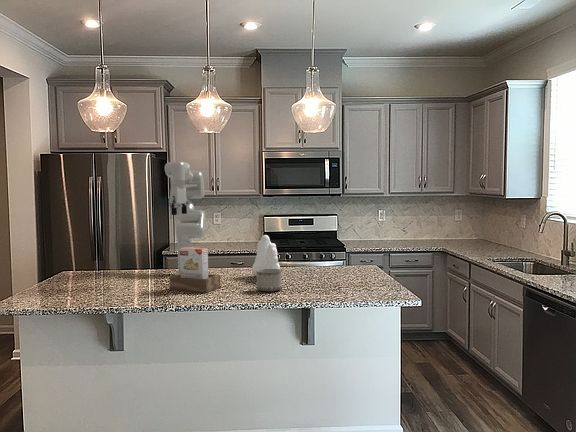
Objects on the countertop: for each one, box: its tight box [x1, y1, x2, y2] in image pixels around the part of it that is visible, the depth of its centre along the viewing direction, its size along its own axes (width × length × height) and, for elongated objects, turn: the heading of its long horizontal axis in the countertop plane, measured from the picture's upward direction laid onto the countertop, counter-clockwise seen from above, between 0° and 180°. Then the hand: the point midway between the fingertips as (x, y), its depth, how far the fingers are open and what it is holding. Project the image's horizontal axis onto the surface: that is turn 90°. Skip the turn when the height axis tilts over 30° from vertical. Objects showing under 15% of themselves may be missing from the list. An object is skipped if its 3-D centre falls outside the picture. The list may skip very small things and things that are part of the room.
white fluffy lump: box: [251, 234, 281, 277], centre depth 295 cm, size 25×16×25 cm, turn 10°
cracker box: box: [180, 247, 209, 279], centre depth 268 cm, size 14×6×21 cm, turn 65°
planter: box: [256, 268, 282, 293], centre depth 263 cm, size 13×13×10 cm
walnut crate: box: [169, 273, 221, 294], centre depth 269 cm, size 14×22×7 cm, turn 67°
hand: (179, 214), depth 289 cm, fingers open, 9 cm apart
